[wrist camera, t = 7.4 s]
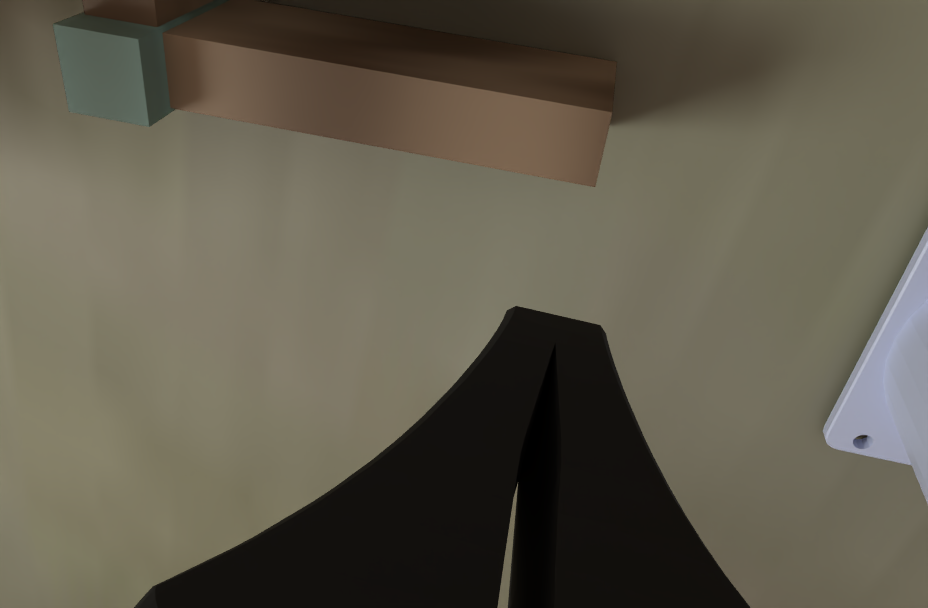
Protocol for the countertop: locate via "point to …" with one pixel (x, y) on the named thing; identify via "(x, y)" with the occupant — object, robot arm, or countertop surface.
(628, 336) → the countertop surface
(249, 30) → the display stand
